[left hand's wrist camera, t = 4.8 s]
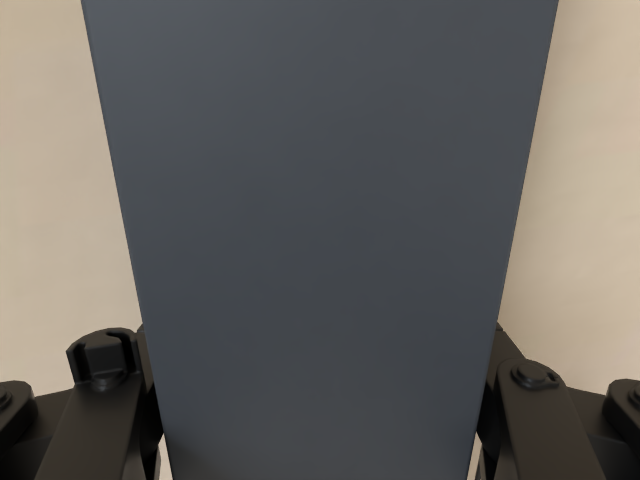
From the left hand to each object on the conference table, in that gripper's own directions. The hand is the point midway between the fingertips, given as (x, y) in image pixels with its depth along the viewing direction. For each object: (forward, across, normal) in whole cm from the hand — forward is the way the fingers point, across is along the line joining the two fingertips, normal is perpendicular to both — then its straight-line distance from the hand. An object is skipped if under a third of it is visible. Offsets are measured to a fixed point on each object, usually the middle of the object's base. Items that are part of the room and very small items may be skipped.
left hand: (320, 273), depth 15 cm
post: (+1, 0, -20) cm, 20 cm away
